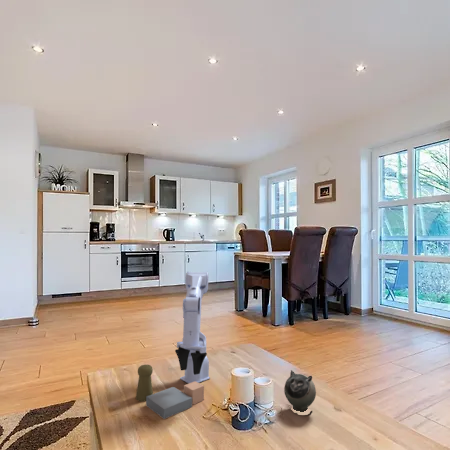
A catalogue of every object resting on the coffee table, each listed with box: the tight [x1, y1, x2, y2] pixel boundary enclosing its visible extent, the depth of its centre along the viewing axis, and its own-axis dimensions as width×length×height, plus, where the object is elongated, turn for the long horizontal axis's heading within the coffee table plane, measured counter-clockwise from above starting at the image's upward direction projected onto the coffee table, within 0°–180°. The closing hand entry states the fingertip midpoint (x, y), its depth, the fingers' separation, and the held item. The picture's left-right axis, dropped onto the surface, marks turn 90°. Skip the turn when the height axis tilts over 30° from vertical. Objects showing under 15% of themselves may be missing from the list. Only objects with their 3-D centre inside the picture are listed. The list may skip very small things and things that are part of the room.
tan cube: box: [183, 381, 205, 406], centre depth 114 cm, size 5×5×5 cm
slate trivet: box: [145, 386, 193, 420], centre depth 109 cm, size 11×11×3 cm
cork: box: [135, 364, 154, 402], centre depth 115 cm, size 6×6×11 cm
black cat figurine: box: [283, 369, 317, 412], centre depth 108 cm, size 10×12×10 cm
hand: (190, 371), depth 113 cm, fingers open, 7 cm apart
